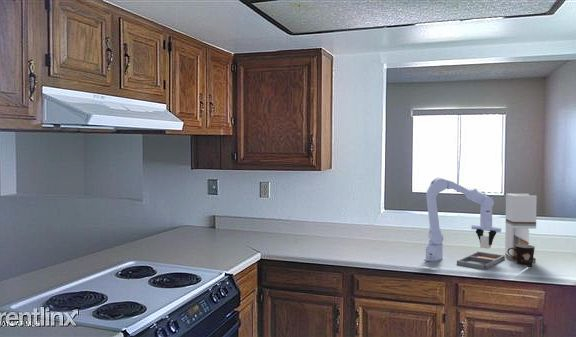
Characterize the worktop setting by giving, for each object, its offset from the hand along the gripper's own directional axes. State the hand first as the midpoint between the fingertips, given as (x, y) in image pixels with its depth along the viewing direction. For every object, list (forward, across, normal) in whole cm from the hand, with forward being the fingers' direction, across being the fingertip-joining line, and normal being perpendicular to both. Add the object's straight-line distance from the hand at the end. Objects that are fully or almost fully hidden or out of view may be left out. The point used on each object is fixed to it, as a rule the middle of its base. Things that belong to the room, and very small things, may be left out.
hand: (486, 244), depth 228 cm
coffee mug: (+9, -16, -5) cm, 19 cm away
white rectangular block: (+2, 0, 0) cm, 2 cm away
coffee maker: (+9, -12, -17) cm, 22 cm away
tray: (+9, 0, +6) cm, 11 cm away
